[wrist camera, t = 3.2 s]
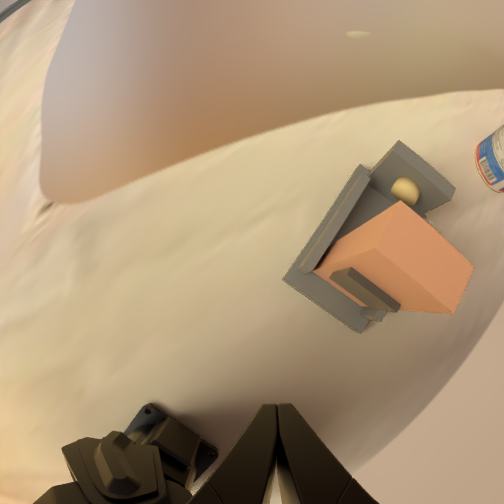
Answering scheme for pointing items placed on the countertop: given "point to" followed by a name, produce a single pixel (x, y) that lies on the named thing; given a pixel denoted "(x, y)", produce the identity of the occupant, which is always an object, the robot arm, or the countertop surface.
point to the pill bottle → (492, 160)
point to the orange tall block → (397, 265)
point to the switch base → (359, 212)
